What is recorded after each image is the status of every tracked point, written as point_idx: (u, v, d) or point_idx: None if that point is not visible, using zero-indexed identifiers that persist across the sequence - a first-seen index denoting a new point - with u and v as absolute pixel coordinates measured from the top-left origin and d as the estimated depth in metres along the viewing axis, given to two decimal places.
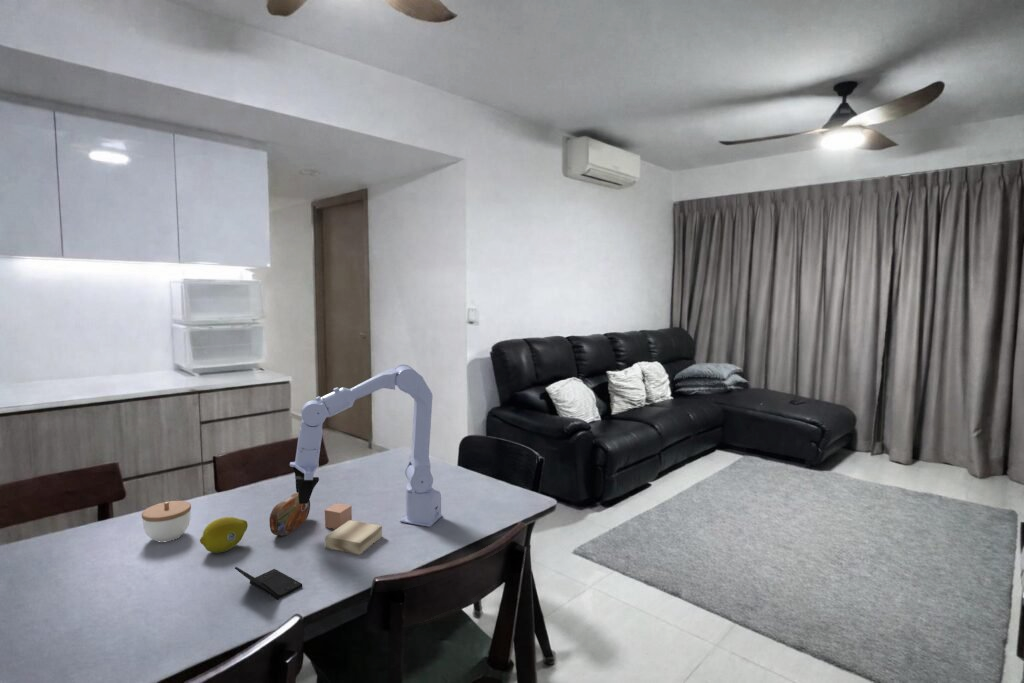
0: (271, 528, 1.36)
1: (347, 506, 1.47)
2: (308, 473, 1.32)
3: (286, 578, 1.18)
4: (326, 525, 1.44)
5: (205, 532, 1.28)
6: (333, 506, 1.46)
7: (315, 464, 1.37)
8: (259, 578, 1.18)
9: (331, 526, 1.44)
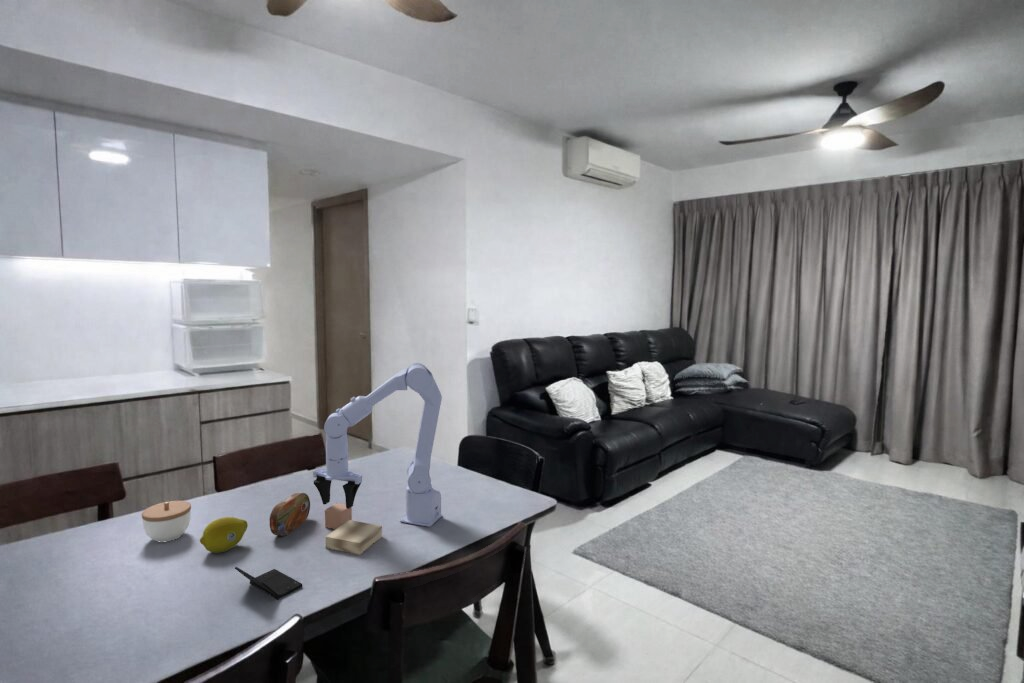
0: (271, 528, 1.36)
1: None
2: (359, 477, 1.42)
3: (286, 578, 1.18)
4: (326, 525, 1.44)
5: (205, 532, 1.28)
6: (333, 506, 1.46)
7: None
8: (259, 578, 1.18)
9: (331, 526, 1.44)
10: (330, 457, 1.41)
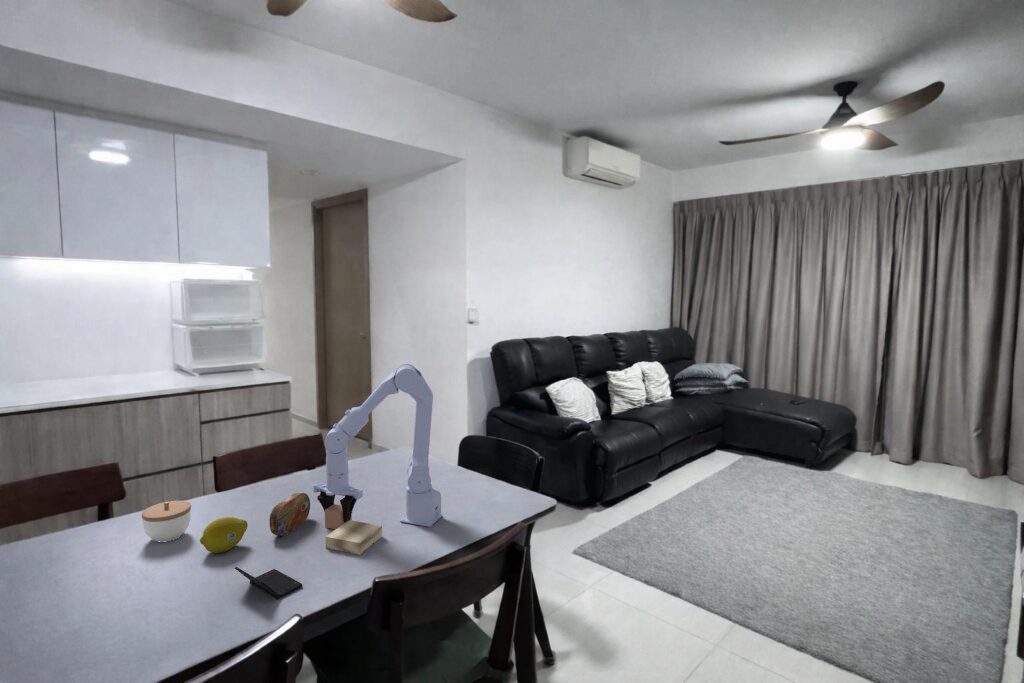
0: (271, 528, 1.36)
1: None
2: (359, 492, 1.42)
3: (286, 578, 1.18)
4: (326, 525, 1.44)
5: (205, 532, 1.28)
6: (333, 506, 1.46)
7: (348, 484, 1.46)
8: (259, 578, 1.18)
9: (331, 526, 1.44)
10: (330, 472, 1.42)
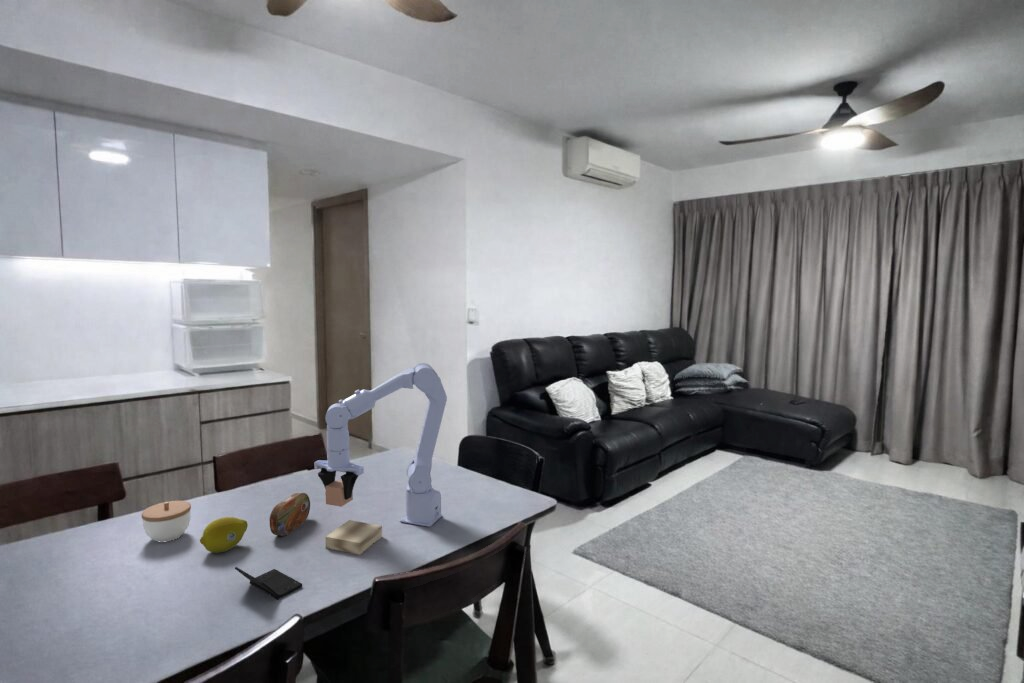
0: (271, 528, 1.36)
1: None
2: (360, 468, 1.41)
3: (286, 578, 1.18)
4: (327, 501, 1.43)
5: (205, 532, 1.28)
6: (334, 482, 1.45)
7: None
8: (259, 578, 1.18)
9: (332, 502, 1.42)
10: (331, 448, 1.40)
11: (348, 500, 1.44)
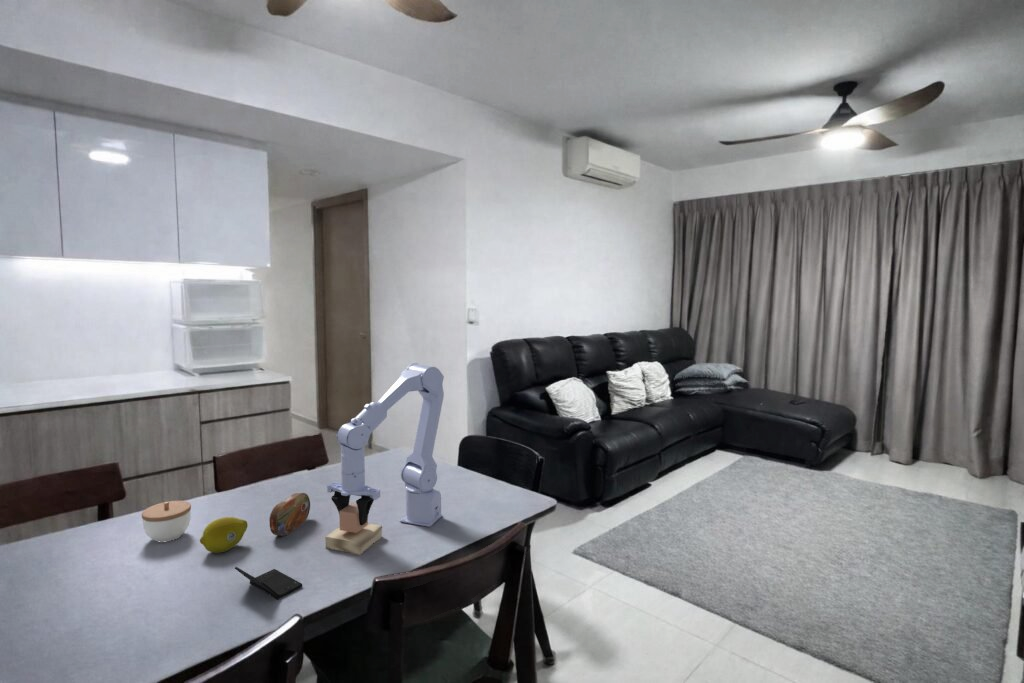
0: (271, 528, 1.36)
1: None
2: (377, 492, 1.32)
3: (286, 578, 1.18)
4: (341, 527, 1.34)
5: (205, 532, 1.28)
6: (348, 507, 1.36)
7: (364, 484, 1.36)
8: (259, 578, 1.18)
9: (346, 528, 1.34)
10: (352, 471, 1.32)
11: (363, 525, 1.36)
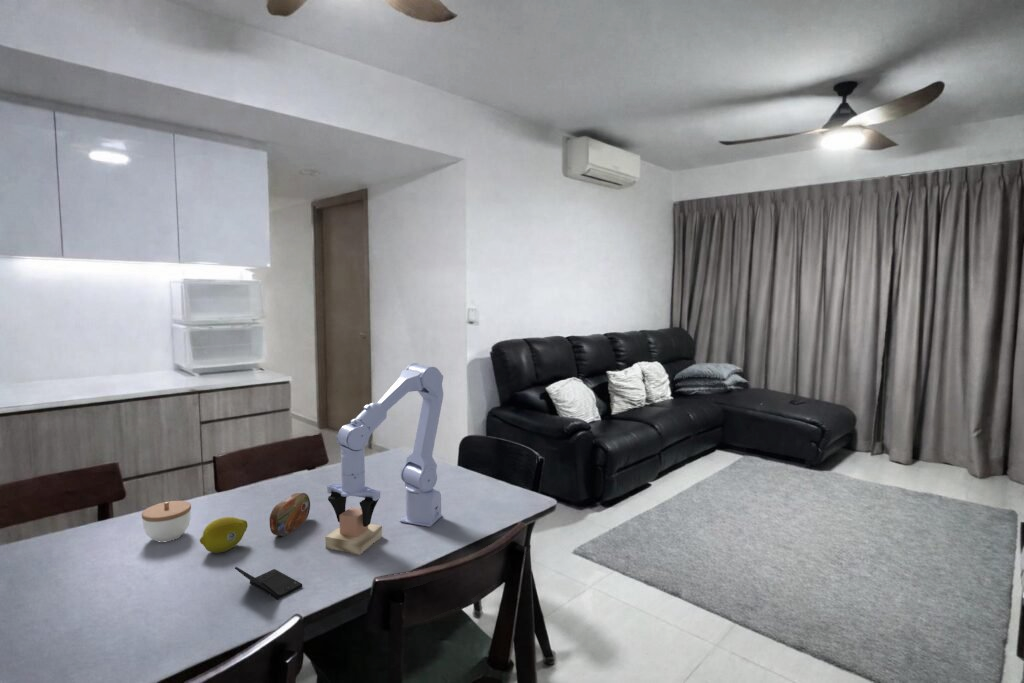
0: (271, 528, 1.36)
1: None
2: (377, 493, 1.32)
3: (286, 578, 1.18)
4: (341, 531, 1.34)
5: (205, 532, 1.28)
6: (348, 510, 1.36)
7: (364, 485, 1.36)
8: (259, 578, 1.18)
9: (346, 532, 1.34)
10: (352, 472, 1.32)
11: (363, 529, 1.36)
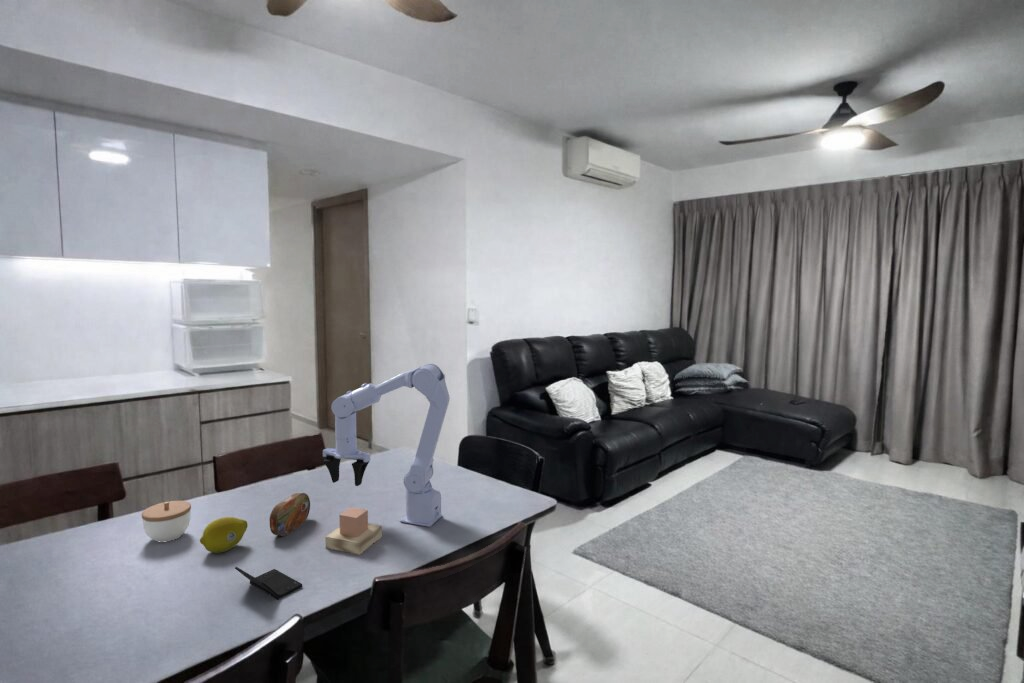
0: (271, 528, 1.36)
1: (363, 510, 1.37)
2: (367, 455, 1.48)
3: (286, 578, 1.18)
4: (341, 531, 1.34)
5: (205, 532, 1.28)
6: (348, 510, 1.36)
7: (356, 449, 1.52)
8: (259, 578, 1.18)
9: (346, 532, 1.34)
10: (337, 436, 1.48)
11: (363, 529, 1.36)
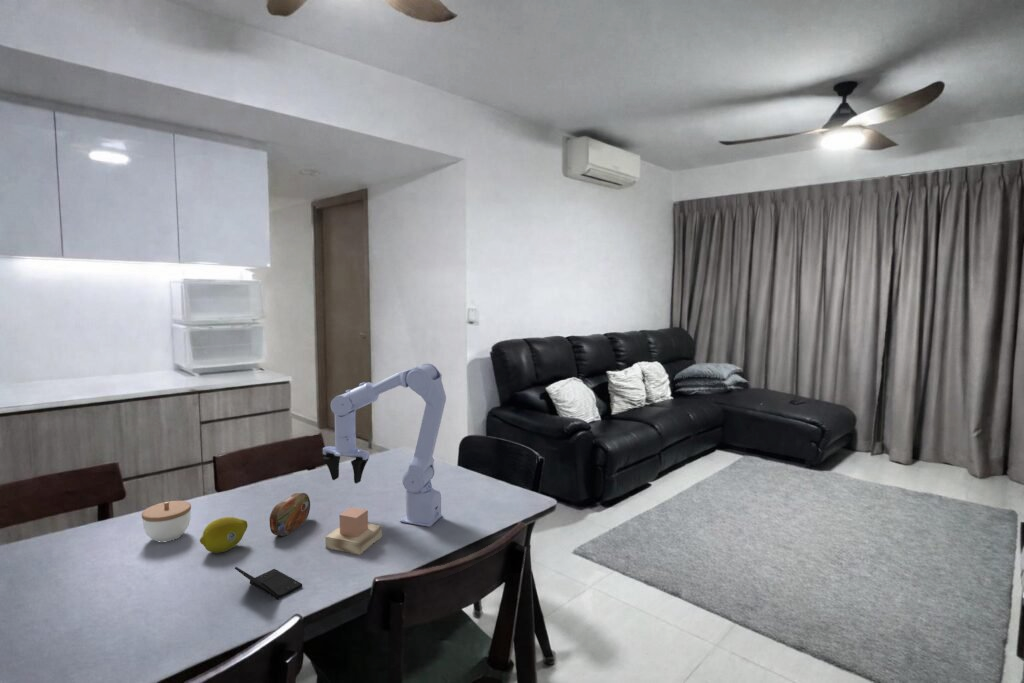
0: (271, 528, 1.36)
1: (363, 510, 1.37)
2: (366, 453, 1.50)
3: (286, 578, 1.18)
4: (341, 531, 1.34)
5: (205, 532, 1.28)
6: (348, 510, 1.36)
7: (355, 447, 1.54)
8: (259, 578, 1.18)
9: (346, 532, 1.34)
10: (336, 434, 1.50)
11: (363, 529, 1.36)
